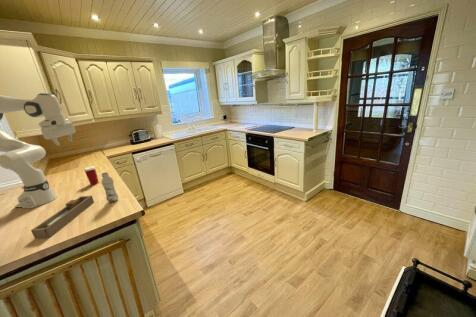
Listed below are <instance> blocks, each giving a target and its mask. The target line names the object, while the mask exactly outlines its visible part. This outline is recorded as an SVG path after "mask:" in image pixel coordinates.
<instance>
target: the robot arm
mask: <svg viewBox="0 0 476 317" xmlns="http://www.w3.org/2000/svg"><path fill="white" fill-rule="evenodd" d="M20 111H24V112H25V113H26V114H27V115H28V116H29V117H31V118H42V117H44V119H43V120H42V121H40V122H39V123H38V125H39V127H41V128H40V132H41V134H42V137H43V138H44V139H45V140H51V141H52V142H53V143H54V144H55V146H60V145H61V142H60V141H58V138H60V137H61V138H62V137H64V136H67V141H68V142H70V143H71V142H73V134H76V127H75V126H74V124H73V122H72V120H70V119H68V118H66V117H65V114H64V113H63V112H62V107H61V104H60V102H59V99H58V98H57V96H56V95H55V94H53V93H48V92H47V93H44V92H41V93H37V95H36V97H34V98H33V99H32V98H31V99H25V98H20V97H14V96H9V95H3V94H0V121H1V120H2V119H3V116H4V114H6V113H7V114H8V113H14V112H20ZM1 152H2V154H0V167H1V168H3V169H6V170H10V171H12V172H14V173H15V174H16V175H17V176H18V177H19V178H20V181H21V183H22V184H23V186H21V187H20V188H21V189H23V192H22V193H20V195H19V196H17V201H18V203H16V205H14V208H15V207H22V208H21V209H33V208H36V207H38V206H39V207H40V206H42V205H45V204H48V203H51V202H53V201H54V200H55V199H56V198H57V195H56V192H54V190H53V189H52V187H51V186H50V184H49V181H48V180H47V179H46V176H45V174H44V172H43V170H41V168H40V169H39V168H35V167H33V166H32V163H35V162H38V161H40V160H42V159H43V158H45V157H46V155H47V152H46V149H45V148H44V147H42V146H41V145H39V144H38V145H37V144H31V143H27V142H24V141H22V140H19V139H17V138H15V137H13V136H12V135H10V134H8V133H7V132H5V131H4V130H3V129H1V128H0V153H1Z"/></svg>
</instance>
